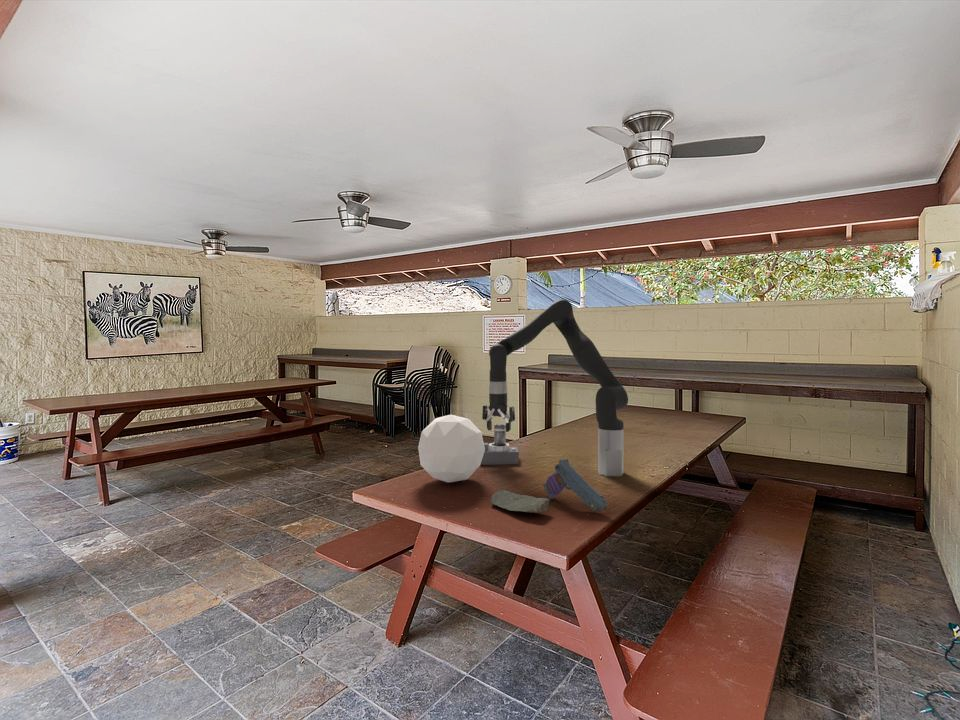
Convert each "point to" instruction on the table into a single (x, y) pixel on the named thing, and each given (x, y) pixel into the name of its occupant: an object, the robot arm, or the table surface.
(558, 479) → the toy gun
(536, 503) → the stone
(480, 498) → the table surface
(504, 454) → the camera body
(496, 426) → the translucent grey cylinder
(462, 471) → the geometric sphere
